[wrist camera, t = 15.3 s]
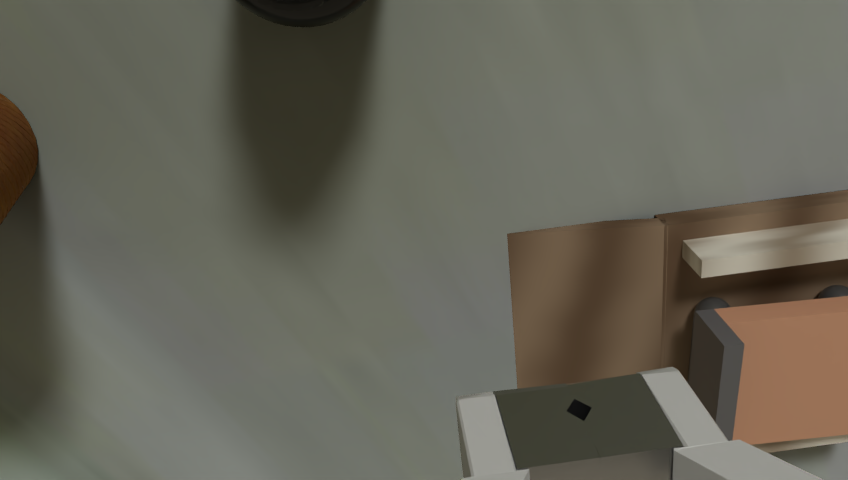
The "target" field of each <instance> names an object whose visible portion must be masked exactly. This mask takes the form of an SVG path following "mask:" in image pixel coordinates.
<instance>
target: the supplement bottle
mask: <svg viewBox="0 0 848 480" xmlns="http://www.w3.org/2000/svg"><path fill="white" fill-rule="evenodd" d="M236 1H237V2H239V3H240V4H241V5H242V6H243V7H245V8H246V9H248V10H249V11H250V12H252V13H254V14H256V15H257V16H259V17H261V18H263V19H266V20H268V21H271V22H273V23H277V24H280V25H284V26H291V27H315V26H321V25H325V24H329V23H332V22H334V21H337V20H339V19H341V18H343V17H345V16H347V15H349V14H350V13H352V12H353V11H355V10H356V9H357V8H358V7H360V6H361V5H362V4H363V3H364V2H365V1H366V0H236Z"/></svg>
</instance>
